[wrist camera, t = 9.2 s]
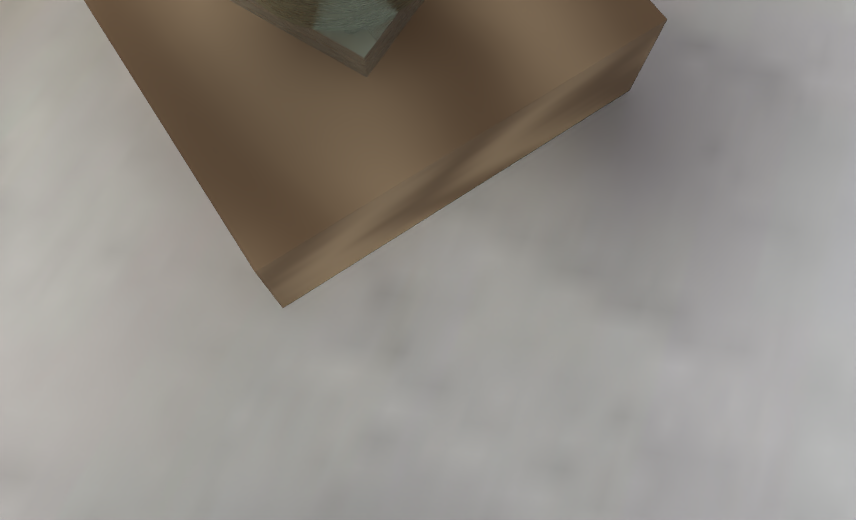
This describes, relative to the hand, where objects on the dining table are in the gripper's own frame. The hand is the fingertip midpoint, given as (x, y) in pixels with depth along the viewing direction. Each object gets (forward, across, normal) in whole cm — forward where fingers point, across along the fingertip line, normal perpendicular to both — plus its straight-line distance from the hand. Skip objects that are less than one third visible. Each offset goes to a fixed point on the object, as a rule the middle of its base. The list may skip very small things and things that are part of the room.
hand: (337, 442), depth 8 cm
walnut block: (+19, +5, 0) cm, 20 cm away
